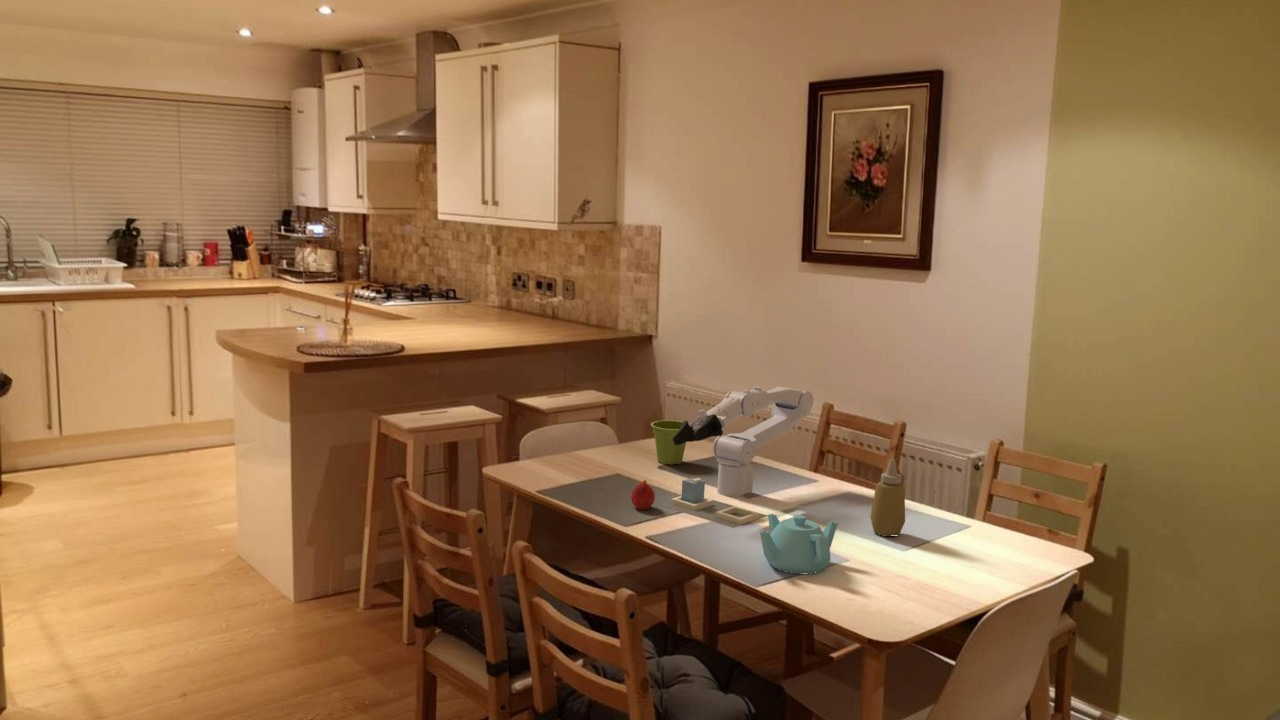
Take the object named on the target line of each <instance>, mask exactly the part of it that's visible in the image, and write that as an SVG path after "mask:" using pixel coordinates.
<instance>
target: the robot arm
mask: <svg viewBox="0 0 1280 720" xmlns="http://www.w3.org/2000/svg"><path fill="white" fill-rule="evenodd" d="M770 404H772V407H771V413H770V415H771V417H770V418H768V419H767V420H764V421H763V422H761V423H759V424H758V423H757V424H756V425H754V426H752V427H751V428H749V429H747V430H745V431H743V432H739V433H736V432H735V433H728V434H726V435H725V434H724V431H723V429H725V428H726V427H727V426H729V425H730V424H732V423H733V422H735V421H736V420H737V419H739V418H740V417H742V416H744V417H751V416H752V415H754V412H759V411H762V410H765V409H766V408H768V407H769V406H770ZM813 405H814V396H813V394H812V392H811V391H809V390H802V389H796V388H792V387H791V388H790V387H786V386H784V385H782V386H777V385H776V387H774V388H772V389H768V390H765V389H763V388H762V387H760V386H755V387H753V389H750V390H749V389H744V390H743V391H741V392H740V391H735V390H733V391H728V392H727V393H726V394H725V396H724V399H723V400H721V401H720V403H718V404H717V405H715V406H714V407H711V408H710V409H709V410H707V411H706V410H705V409H700V410H699V411H697V413H698V416H697V417H696V418H695V419H694V420H693V421H691V422H689V421H688V420H684V421H682V423H681V426H680V429H679V431H678V432H677V433H676V434H675V436H674V437H673V438H672V439H673V441H674V444H675V445H680V444H683V443H685V442H686V443H688V442H689V443H691V442H700V441H704V440H706V439H710V438H711V437H712V438H713V437H715V440H714V441H713V444H712V453H713V455H714V457H715V458H716V462H718V472H717V473H718V474H717V487H716V488H717V491H716V493H717V494H719V495H722V496H725V497H734V498H735V497H742V496H744V495H746V494H749V493H751V494H755V492H753V488H754V486H753V484H754V467H753V466H752V464H751V461H752V460H753V459H754V458H755V457H756V456H758V451H759V448H760V447H763V446H765V445H766V444H767V443H770V442H772V441H773V440H775V439H778V438H779V437H780V436H782V435H784V434H786V433H788V432H789V431H791V430H793V428H794V427H795V426H796V425H797V423H798V422H799V421H800V420H802V419H803V418H805V417H807V416H809V415H810V413H811V411H812V409H813V408H812V407H813Z"/></svg>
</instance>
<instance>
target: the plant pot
mask: <svg viewBox="0 0 1280 720" xmlns="http://www.w3.org/2000/svg"><path fill="white" fill-rule="evenodd" d="M682 422H683V421H682V420H673V419H672V420H670V419H666V420H664V419H663V420H656V421H653V422H651V423H650V426H651V427H652V431H653V434H654V440H655V450H656V458H657V462H659V463H660V464H662V465H668V464H669V466H670V465H675V464H677V465H680V464H682V463H683V459H684V453H685V449H686V444H687V442H685V443H683V444H680V445H675V444H674V441H673V439H672V438H673V437H674V436H675V434H676V433H677V432H678V431H679V429H680V426H681V423H682Z"/></svg>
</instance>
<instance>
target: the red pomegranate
mask: <svg viewBox="0 0 1280 720" xmlns="http://www.w3.org/2000/svg"><path fill="white" fill-rule="evenodd" d="M630 498H631V499H630V500H631V503H632V505H633V507H635V508H636V509H637V510H642V511H643V510H644V511H645V510H648V509H649V508H650V507H652V506H653V504H654V502H655V501H656V500H655V499H656V494H655V492H654V489H653V488H652V487H651V486H650V485H649V484H648V482H647V480H646V479H642V480H641V482H640V483H639V484H637V485H636V486H635V487H634V488H633V489H632V491H631V494H630Z"/></svg>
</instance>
